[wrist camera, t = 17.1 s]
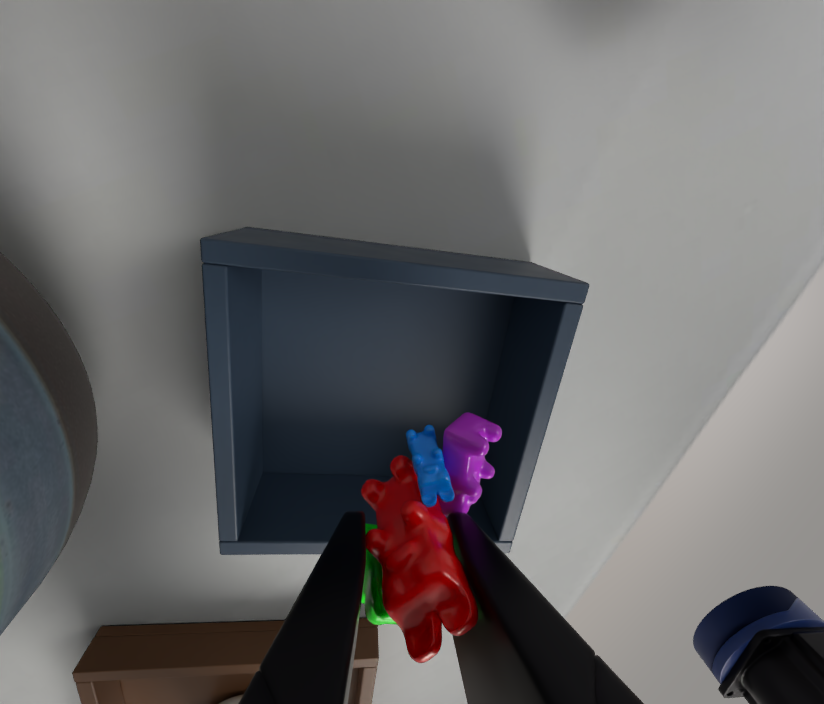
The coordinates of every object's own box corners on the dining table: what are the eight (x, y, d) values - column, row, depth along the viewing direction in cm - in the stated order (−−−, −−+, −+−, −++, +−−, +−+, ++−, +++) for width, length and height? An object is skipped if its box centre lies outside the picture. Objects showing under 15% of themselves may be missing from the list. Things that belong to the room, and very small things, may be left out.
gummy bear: (459, 379, 8) (533, 494, 5) (523, 447, 9) (618, 578, 6) (298, 514, 9) (274, 692, 6) (375, 564, 10) (392, 737, 7)
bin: (479, 481, 18) (510, 554, 14) (251, 475, 16) (219, 555, 13) (532, 262, 14) (590, 283, 11) (246, 226, 13) (198, 237, 9)
